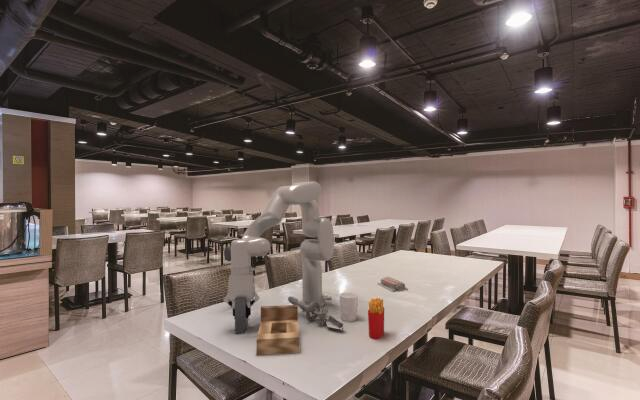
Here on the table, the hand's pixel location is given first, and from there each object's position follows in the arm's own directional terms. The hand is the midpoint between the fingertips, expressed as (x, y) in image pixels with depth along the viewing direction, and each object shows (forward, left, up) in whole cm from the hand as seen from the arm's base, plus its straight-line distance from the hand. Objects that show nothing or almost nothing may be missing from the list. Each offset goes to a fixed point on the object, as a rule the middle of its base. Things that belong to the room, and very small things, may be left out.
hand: (241, 316), depth 124 cm
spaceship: (-28, -5, -5) cm, 29 cm away
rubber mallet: (+5, -27, -5) cm, 28 cm away
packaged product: (-78, -51, -6) cm, 94 cm away
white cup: (-44, -6, -5) cm, 45 cm away
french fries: (-51, +12, -5) cm, 53 cm away
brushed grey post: (0, 0, -5) cm, 5 cm away
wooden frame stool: (-15, +13, -5) cm, 20 cm away
